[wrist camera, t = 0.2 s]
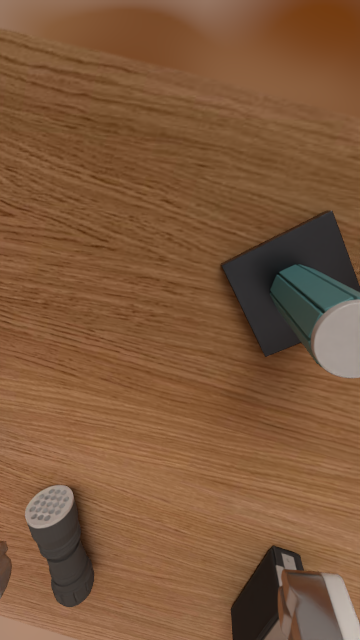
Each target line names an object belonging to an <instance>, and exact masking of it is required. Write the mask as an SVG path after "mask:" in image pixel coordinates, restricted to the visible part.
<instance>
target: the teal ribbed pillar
mask: <svg viewBox="0 0 360 640" xmlns="http://www.w3.org/2000/svg"><path fill="white" fill-rule="evenodd" d="M279 274H280V275H276V277H275V280H274V282H273V284H272V287H271V289H270V291H271V293H270V295H271V297H272V300H273V302H274V304H275V306H276V308H277V309H278V311H279V312H280V314H281V315H282V316H283V318H284V319H285V320H286V322H287V323H288V325H289V326H290V327H291V329H292V330H293V331H294V333H295V334H296V335H297V337H298V338H299V340H300V341H301V342H302V344H303V345H304V346H305V348H306V349H307V351H308V352H309V353H310V355H311V356H312V357H313V359H314V360H315V361H316V363H317V364H319V365H320V366H321V367H322V368H324V369H325V370H326V371H328V372H329V373H331V374H333V375H336V376H339V377H344V378H359V377H360V292H358V291H356V290H354V289H352V288H350V287H348V286H346V285H344V284H342V283H340V282H338V281H336V280H334V279H332V278H330V277H329V276H327V275H325V274H323V273H321V272H319V271H317V270H315V269H312V268H309V267H306V266H303V265H300V264H298V266H297V265H293V266H291V267H289V268H287V269H285V270H282V271H280V272H279Z"/></svg>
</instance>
